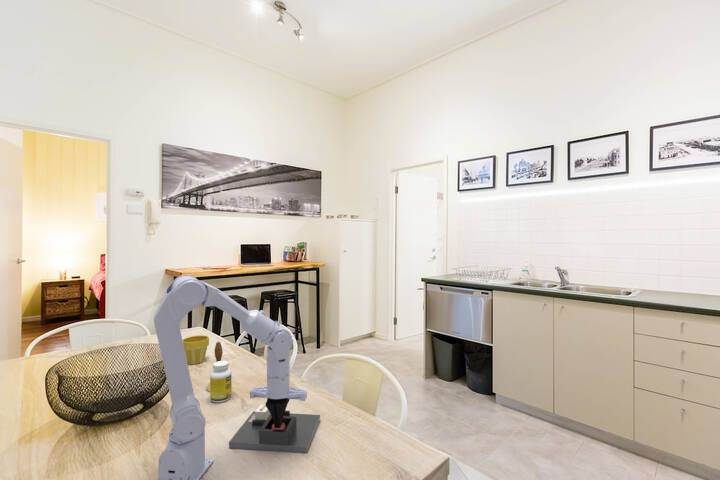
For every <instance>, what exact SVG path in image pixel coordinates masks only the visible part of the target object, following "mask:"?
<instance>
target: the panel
mask: <svg viewBox="0 0 720 480" xmlns="http://www.w3.org/2000/svg"><path fill="white" fill-rule="evenodd" d="M255 411H256V410H255ZM255 411H252V412H251V414H250V415H249V416H248V418H247V419H246V420H245V421H244V423H242V425H241V426H240V427H239V429H238V430H237V431H236V432H235V433H234V435H233V436H232V437H231V439H230V440H229V441H228V448H229V449H241V450H253V451H254V450H255V451H267V452H268V451H269V452H273V451H274V452H286V453H301V454H308V452H309V449H310V446H311V445H312V441H313V439H314V436H315V434H316V432H317V429H318V428H319V424H320V422H321V414H310V413H309V414H306V413H291V410H287V409H286V410H285V413H284V417H283V423H285V430H276V429H272V425H273V424H274V422H273V419H272V416H271V415H270V416H269V417H268V418H267V420H255Z"/></svg>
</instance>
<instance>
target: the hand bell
mask: <svg viewBox="0 0 720 480" xmlns="http://www.w3.org/2000/svg"><path fill="white" fill-rule="evenodd" d="M214 357H215V360H216V361H215V362H218V361H222V357H223V347H222V343H221V341H217V342H216V343H215V346H214ZM205 390H206V391H207V392H209V393H210V382H209V383H208V384H207V385H206V387H205Z"/></svg>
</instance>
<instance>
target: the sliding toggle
mask: <svg viewBox="0 0 720 480" xmlns="http://www.w3.org/2000/svg"><path fill="white" fill-rule="evenodd" d="M270 415H271V414H270V412H269V410H268V409H267V407H266V402H264V403H263V404H261V403H260V404H259V406H258V407H257V409H255V420H267V418H268V417H269V416H270Z"/></svg>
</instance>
